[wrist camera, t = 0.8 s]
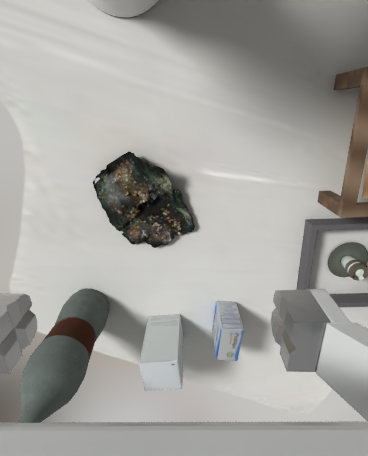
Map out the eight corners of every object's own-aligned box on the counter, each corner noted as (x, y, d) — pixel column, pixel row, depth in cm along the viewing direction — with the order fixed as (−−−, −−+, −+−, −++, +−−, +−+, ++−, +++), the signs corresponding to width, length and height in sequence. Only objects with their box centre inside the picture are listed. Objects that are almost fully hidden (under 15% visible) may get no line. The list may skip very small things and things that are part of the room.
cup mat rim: (305, 219, 53) (312, 225, 50) (403, 216, 52) (415, 222, 50) (295, 298, 60) (300, 308, 57) (381, 296, 59) (391, 305, 56)
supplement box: (147, 315, 62) (137, 362, 50) (181, 313, 62) (179, 360, 50) (151, 341, 65) (143, 391, 53) (183, 339, 64) (182, 389, 53)
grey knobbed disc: (366, 222, 53) (383, 232, 48) (385, 269, 56) (402, 283, 52) (306, 251, 55) (316, 264, 51) (328, 295, 59) (340, 310, 54)
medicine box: (216, 300, 60) (220, 328, 52) (236, 301, 60) (244, 330, 52) (212, 329, 63) (215, 360, 55) (231, 330, 63) (238, 362, 55)
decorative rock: (211, 225, 50) (147, 274, 52) (205, 213, 55) (148, 258, 58) (137, 138, 43) (69, 200, 46) (139, 135, 49) (78, 190, 51)
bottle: (60, 294, 60) (-50, 449, 32) (97, 279, 59) (14, 429, 31) (84, 326, 63) (2, 492, 35) (119, 313, 62) (62, 476, 34)
